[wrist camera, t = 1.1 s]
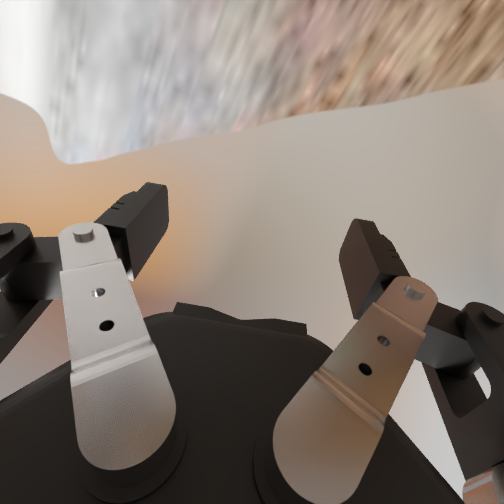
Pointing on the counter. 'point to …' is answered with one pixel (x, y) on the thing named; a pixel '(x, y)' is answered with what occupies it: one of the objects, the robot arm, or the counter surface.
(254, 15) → the counter surface
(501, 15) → the counter surface
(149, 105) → the counter surface
